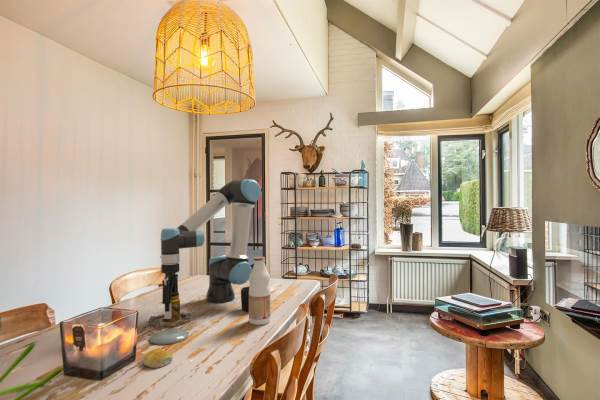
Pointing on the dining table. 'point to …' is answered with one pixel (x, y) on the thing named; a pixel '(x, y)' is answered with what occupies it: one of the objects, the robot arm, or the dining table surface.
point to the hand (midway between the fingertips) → (170, 315)
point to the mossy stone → (157, 358)
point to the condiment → (173, 309)
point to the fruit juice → (259, 293)
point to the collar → (152, 323)
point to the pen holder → (245, 299)
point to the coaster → (168, 336)
